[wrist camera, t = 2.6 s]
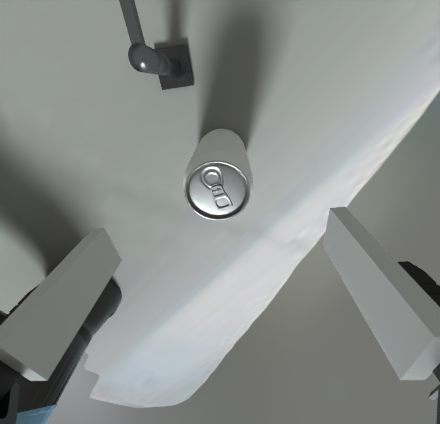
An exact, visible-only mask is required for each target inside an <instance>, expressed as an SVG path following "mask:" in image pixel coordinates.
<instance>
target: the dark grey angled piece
mask: <svg viewBox="0 0 440 424" xmlns="http://www.w3.org/2000/svg"><path fill="white" fill-rule="evenodd" d="M119 1H120V5H121V8H122V12H123V15H124V19H125V22H126V26H127V30H128V33H129V37H130V40H131V44H132V45H131V47H130V48H129V52H128V57H129V61H130V63H131V65H132V66H133V68H134V69H136V70H137V71H139V72H145V73H151V74H157V75H159V79H160V83H161V87H162V90H165V89H172V88H178V87H185V86H191V85H194V84H193V78H192V73H191V67H190V61H189V55H188V49H187V45H180V46H174V47H169V48H163V49H157V50H154V49H152V48H150V47H148V46H146V45H145V41H144V37H143V33H142V29H141V25H140V21H139V17H138V13H137V9H136V5H135V1H134V0H119Z"/></svg>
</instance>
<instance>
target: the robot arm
mask: <svg viewBox="0 0 440 424" xmlns="http://www.w3.org/2000/svg"><path fill="white" fill-rule="evenodd" d="M323 247H324V249H325V251H326V252H327V254H328V256H329V257H330V259H331V261H332V263H333V264H334V266H335V268H336V270H337V271H338V273H339V274H340V276H341V278H342V280H343V282H344V283H345V285H346V287H347V288H348V290H349V292H350V294H351V295H352V297H353V299H354V301H355V302H356V304H357V306H358V308H359V309H360V311H361V313H362V314H363V316H364V318H365V320H366V321H367V323H368V325H369V327H370V328H371V330H372V332H373V334H374V335H375V337H376V339H377V340H378V342H379V344H380V346H381V347H382V349H383V351H384V353H385V354H386V356H387V358H388V360H389V361H390V363H391V365H392V366H393V368H394V370H395V372H396V374H397V375H398V377H399V379H400V380H425V379H427V378H428V377H429V375H430V374H431V373H432V372H433V373H434V374H435V375H436V377H437V378H438V380H439V381H440V286H439V285H437V284H436V282H435V281H434V280H433V279H432V278H431V277H430V276H429V275H428V274H427V273H426V272H424V271H423V270H422V269H420V268H418V267H417V266H415V265H413V264H412V263H410V262H408V261H407V262H397V261H395V259H394V258H393V257H392V256H391V255H390V254H389V253H388V252H387V251H386V250H385V249H384V248H383V247H382V246H381V245H380V243H379V242H378V241H377V240H376V239H375V238H374V237H373V236H372V235H371V234H370V233H369V232H368V231H367V230H366V229H365V228H364V226H363V225H362V224H361V223H360V222H359V221H358V220H357V219H356V218H355V217H354V216H353V215H352V214H351V213H350V212H349V211H348V210H347V208H346V207H337V208H330V211H329V217H328V222H327V228H326V233H325V239H324V245H323ZM121 261H122V260H121V258H120V256H119V254H118V252H117V250H116V249H115V247H114V245H113V243H112V241H111V239H110V237H109V235H108V234H107V232H106V230H105V228H96V229H92V230H91V231H90V232H89V233H88V234H87V235H86V236H85V237H84V238H83V240H82V241H81V242H80V243H79V244H78V245H77V246H76V247H75V248H74V249H73V250H72V251H71V252H70V253H69V254H68V255H67V256H66V257H65V258H64V259H63V260H62V262H61V263H60V264H59V265H58V266H57V267H56V268H55V269H54V270H53V271H52V272H51V273H50V274H49V275H48V276H47V277H46V278H45V279H44V280H43V281H42V282H41V284H39V285H38V286H37V287H35V288H34V289H33V290H31V291H30V292H29V293H27V294H26V296H25V297H24V298H23V299H22V300H21V301H20V302H19V303H18V305H16V306H15V307H14V308H13V309H12V310H11V311H10V313H9V314H6V313H4V312H3V311H1V310H0V424H45V423H46V421H47V419H48V418H49V416H50V415H51V413H52V411H53V410H54V409H55V407H56V406H57V402H58V400H59V398H60V396H61V394H62V392H63V391H64V389H65V387H66V385H67V383H68V381H69V379H70V377H71V376H72V374H73V372H74V370H75V368H76V366H77V364H78V362H79V361H80V359H81V357H82V355H83V353H84V351H85V349H86V348H87V346H88V344H89V342H90V340H91V338H92V337H93V335H94V334H95V333H96V332H97V331H98V330H99V329H100V327H101V326H102V325H103V324H104V323H105V322H106V320H107V319H108V318H110V317H111V316H112V315H113V314H114V313H115V311H116V310H117V308H118V306H119V304H120V302H121V293H120V290H119V289H118V287H117V286H116V285H115V284H114V283H113V282H112V281H111V280H110V279H111V277H112V275H113V274H114V272H115V270H116V269H117V267H118V266H119V264H120V262H121ZM437 397H438V406H437V424H440V385H439V386H437V387H436V388H435V389H434V390H433V391H432V392H431V393H430V396H429V399H431V400H432V401H434V400H435V399H436V398H437Z"/></svg>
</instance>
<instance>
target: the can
mask: <svg viewBox="0 0 440 424" xmlns="http://www.w3.org/2000/svg"><path fill="white" fill-rule="evenodd" d="M183 183H184V190H185V197H186V200H187V202H188V204H189V205H190V207H191V208H192V209H193V210H194V211H195V212H196V213H197V214H199V215H200V216H202V217H205V218H207V219H211V220H225V219H229V218H232V217H234V216H236V215H237V214H239V213H240V212H241V211H242V210H243V209H244V208H245V206H246V205H247V203H248V201H249V197H250V195H251V193H252V189H253V177H252V172H251V168H250V164H249V160H248V156H247V153H246V149H245V146H244V143H243V141H242V140H241V138H240V137H239V136H238V135H237V134H236V133H234V132H232V131H230V130H227V129H215V130H213V131H211V132H209V133H207V134H206V135H205V136H204V137H203V138H202V139H201V141H200V143H199V144H198V146H197V148H196V150H195V152H194V154H193V156H192V158H191V160H190V162H189V164H188V166H187V168H186V171H185V174H184V181H183Z"/></svg>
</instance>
